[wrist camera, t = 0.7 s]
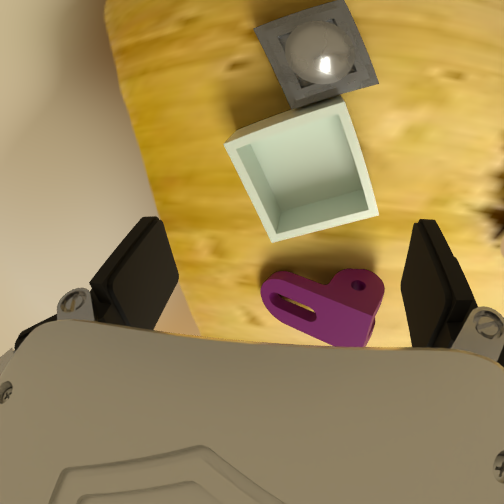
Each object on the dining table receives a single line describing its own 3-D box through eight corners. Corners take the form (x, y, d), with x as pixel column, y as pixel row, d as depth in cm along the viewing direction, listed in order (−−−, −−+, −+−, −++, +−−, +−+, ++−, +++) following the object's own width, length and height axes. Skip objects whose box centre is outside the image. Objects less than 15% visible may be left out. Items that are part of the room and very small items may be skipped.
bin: (339, 94, 31) (344, 101, 26) (371, 191, 37) (379, 215, 33) (236, 130, 36) (223, 144, 31) (277, 217, 42) (271, 242, 38)
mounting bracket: (288, 284, 57) (378, 320, 48) (262, 312, 52) (359, 357, 43) (288, 242, 52) (391, 278, 43) (259, 270, 47) (372, 316, 37)
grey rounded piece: (330, 26, 24) (340, 9, 14) (347, 67, 26) (368, 75, 16) (286, 40, 26) (269, 32, 16) (304, 80, 28) (299, 96, 18)
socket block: (341, 3, 24) (344, -4, 21) (374, 81, 29) (382, 85, 26) (258, 30, 28) (250, 27, 25) (293, 105, 33) (290, 112, 29)
